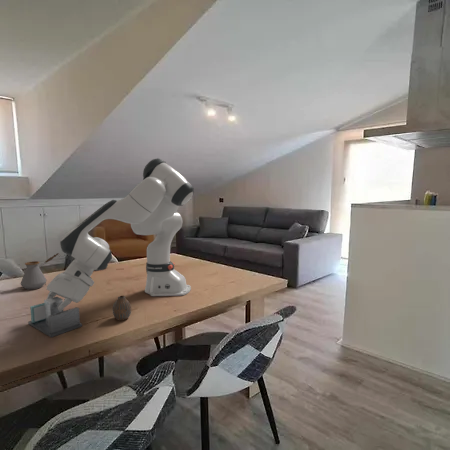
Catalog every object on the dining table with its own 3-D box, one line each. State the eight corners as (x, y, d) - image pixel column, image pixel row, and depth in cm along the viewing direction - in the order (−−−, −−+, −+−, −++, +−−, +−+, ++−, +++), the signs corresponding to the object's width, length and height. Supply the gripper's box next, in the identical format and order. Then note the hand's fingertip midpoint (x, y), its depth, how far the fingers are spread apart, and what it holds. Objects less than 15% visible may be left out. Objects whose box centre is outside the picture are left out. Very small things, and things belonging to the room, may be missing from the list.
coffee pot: (30, 292, 158) (28, 262, 156) (15, 289, 162) (13, 259, 161) (68, 280, 177) (66, 253, 175) (54, 278, 182) (52, 252, 180)
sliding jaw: (31, 321, 120) (30, 306, 119) (58, 313, 128) (57, 299, 127) (33, 323, 118) (32, 307, 118) (61, 314, 126) (60, 300, 126)
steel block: (64, 322, 119) (62, 299, 118) (51, 326, 116) (49, 302, 114) (58, 319, 122) (56, 296, 121) (45, 323, 118) (44, 300, 117)
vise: (28, 324, 120) (27, 306, 119) (58, 314, 129) (57, 297, 128) (51, 337, 109) (49, 317, 109) (82, 326, 118) (81, 308, 117)
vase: (133, 314, 129) (132, 293, 128) (129, 321, 122) (128, 299, 121) (116, 315, 129) (115, 293, 128) (110, 322, 122) (109, 299, 121)
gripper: (57, 266, 128) (32, 296, 122) (85, 274, 116) (59, 309, 109) (69, 274, 132) (46, 304, 126) (97, 283, 120) (72, 317, 114)
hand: (52, 306), depth 118 cm, fingers open, 8 cm apart
